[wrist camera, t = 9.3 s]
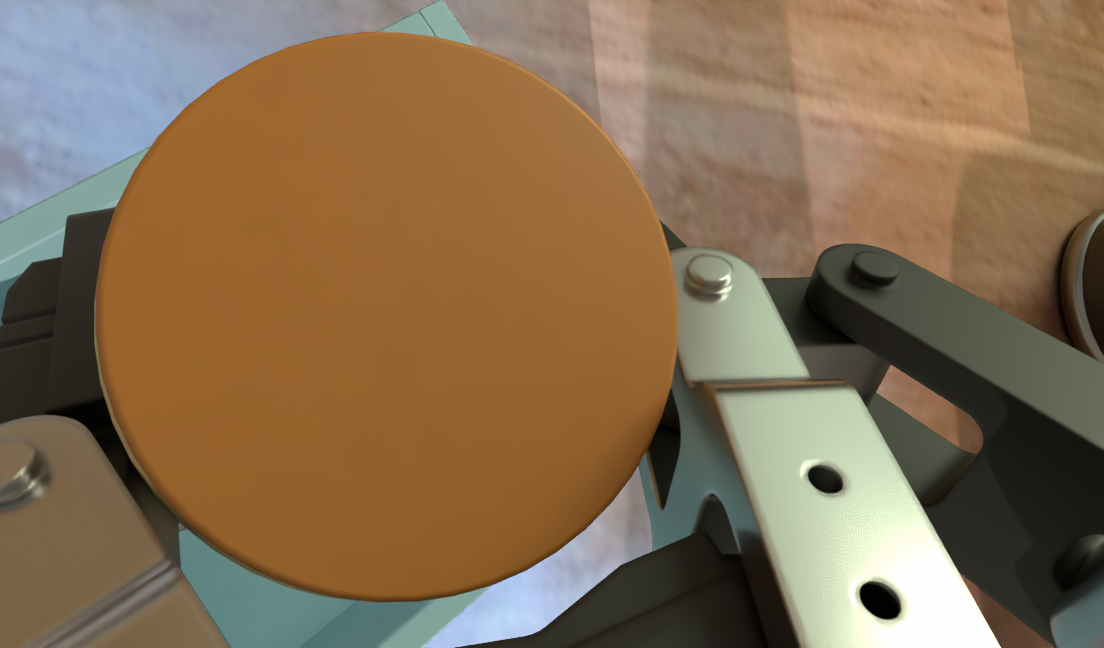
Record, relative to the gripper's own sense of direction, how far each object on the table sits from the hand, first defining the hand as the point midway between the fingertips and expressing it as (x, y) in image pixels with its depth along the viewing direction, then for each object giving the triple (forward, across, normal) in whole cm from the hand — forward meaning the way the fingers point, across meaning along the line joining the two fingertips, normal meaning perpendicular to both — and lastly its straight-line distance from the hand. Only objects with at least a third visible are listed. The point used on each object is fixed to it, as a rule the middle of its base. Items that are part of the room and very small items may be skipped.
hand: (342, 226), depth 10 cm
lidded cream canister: (+1, 0, +4) cm, 4 cm away
